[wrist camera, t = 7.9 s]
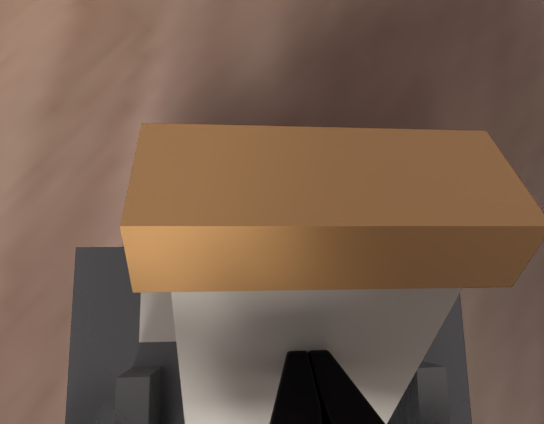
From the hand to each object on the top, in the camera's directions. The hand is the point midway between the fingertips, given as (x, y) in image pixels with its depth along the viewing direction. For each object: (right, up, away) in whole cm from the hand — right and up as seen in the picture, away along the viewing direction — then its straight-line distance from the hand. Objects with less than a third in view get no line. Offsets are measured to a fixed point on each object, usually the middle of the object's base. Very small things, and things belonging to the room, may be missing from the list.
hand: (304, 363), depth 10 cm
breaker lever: (0, -3, +4) cm, 5 cm away
